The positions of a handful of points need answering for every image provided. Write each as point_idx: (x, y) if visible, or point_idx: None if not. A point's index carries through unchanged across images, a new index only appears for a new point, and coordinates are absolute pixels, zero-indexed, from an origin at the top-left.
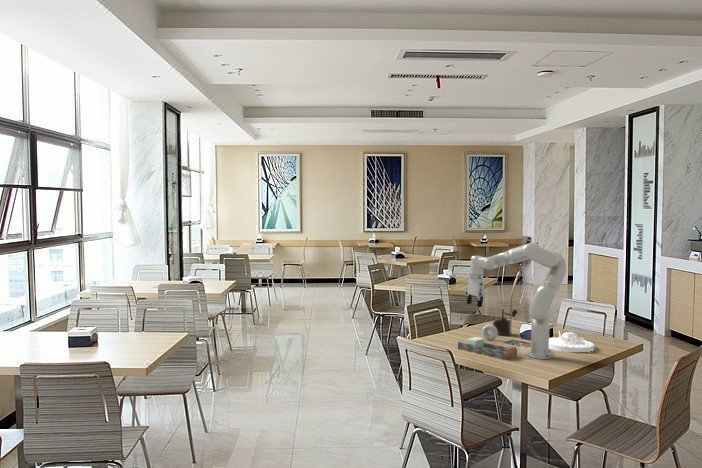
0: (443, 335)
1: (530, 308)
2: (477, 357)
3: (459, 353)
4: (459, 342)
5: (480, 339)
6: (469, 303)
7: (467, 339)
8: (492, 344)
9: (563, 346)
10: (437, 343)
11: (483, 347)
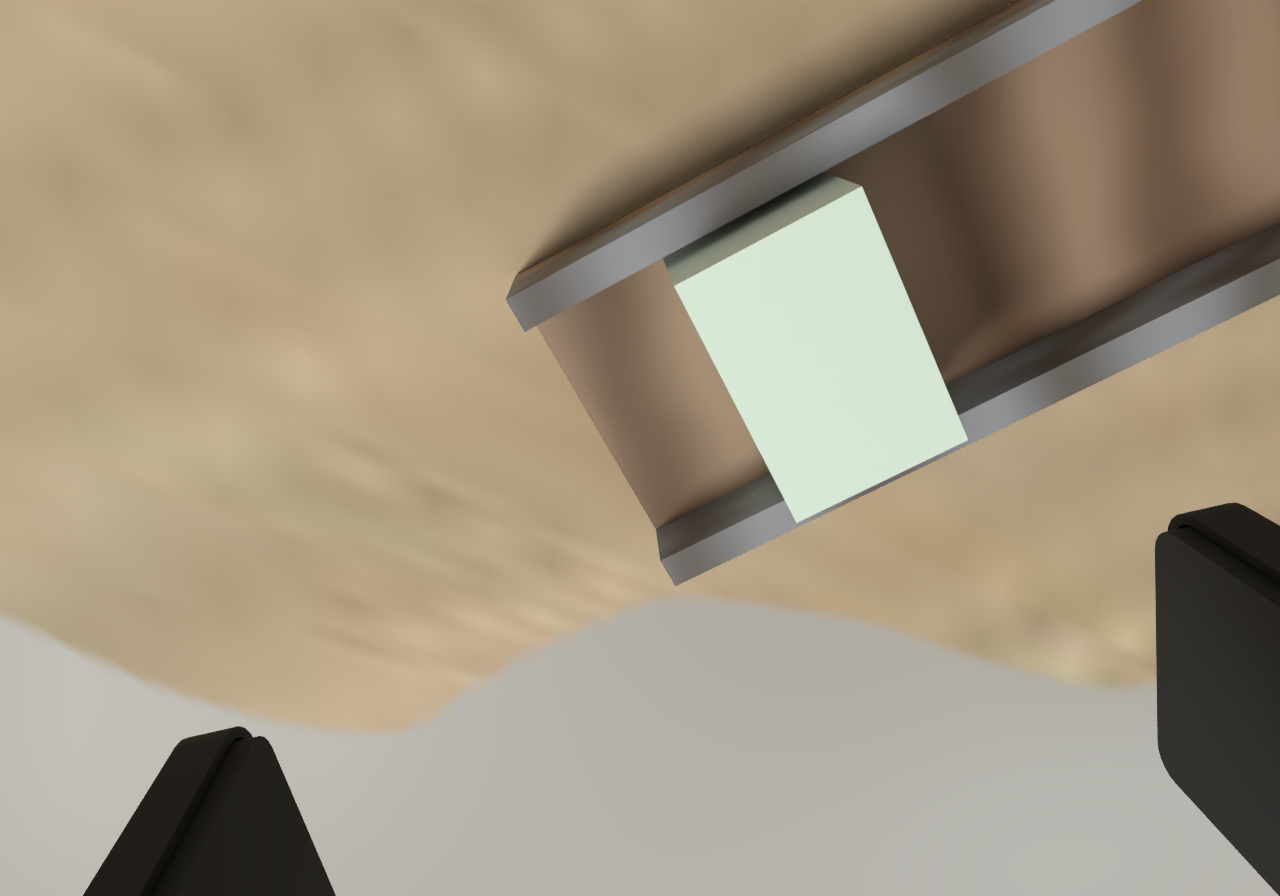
0: None
1: None
2: (1164, 475)
3: (901, 609)
4: (697, 571)
5: (905, 297)
6: (314, 849)
7: (811, 513)
8: (988, 67)
9: None
10: (300, 674)
11: (1120, 351)
